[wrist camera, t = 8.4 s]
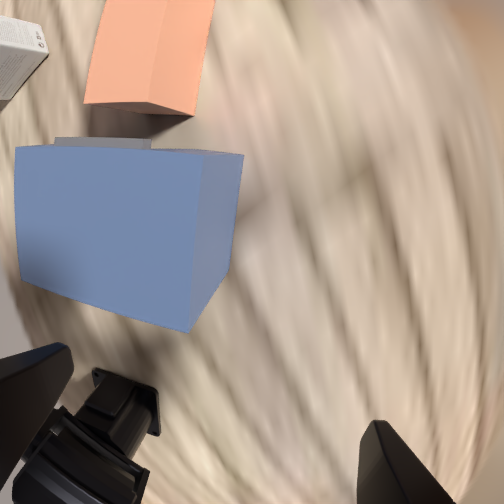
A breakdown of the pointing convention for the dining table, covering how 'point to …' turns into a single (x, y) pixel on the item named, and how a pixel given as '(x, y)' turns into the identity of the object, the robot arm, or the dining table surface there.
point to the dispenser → (126, 224)
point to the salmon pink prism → (149, 56)
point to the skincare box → (19, 53)
